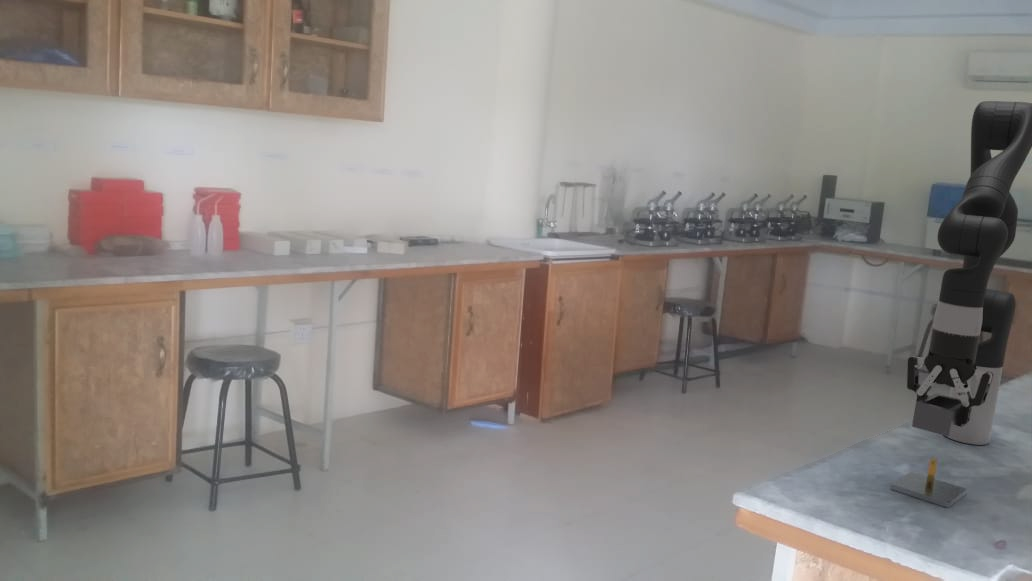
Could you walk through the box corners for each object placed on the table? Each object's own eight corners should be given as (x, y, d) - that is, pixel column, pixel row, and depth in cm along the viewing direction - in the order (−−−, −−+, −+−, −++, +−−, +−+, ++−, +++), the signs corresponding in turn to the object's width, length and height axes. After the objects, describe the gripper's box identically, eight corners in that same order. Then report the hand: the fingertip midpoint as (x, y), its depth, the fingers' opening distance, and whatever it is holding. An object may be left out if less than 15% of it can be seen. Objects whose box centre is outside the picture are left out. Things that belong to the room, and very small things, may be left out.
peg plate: (910, 476, 168) (915, 446, 167) (966, 494, 162) (972, 462, 161) (890, 489, 161) (895, 457, 160) (948, 507, 154) (954, 475, 153)
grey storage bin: (931, 416, 165) (935, 393, 164) (966, 426, 161) (971, 402, 160) (911, 426, 158) (916, 402, 157) (948, 436, 154) (953, 411, 153)
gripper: (1007, 335, 154) (990, 428, 157) (921, 318, 164) (907, 406, 167) (994, 340, 149) (977, 436, 152) (906, 322, 158) (892, 413, 161)
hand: (940, 420), depth 159 cm, fingers closed on grey storage bin, 6 cm apart
